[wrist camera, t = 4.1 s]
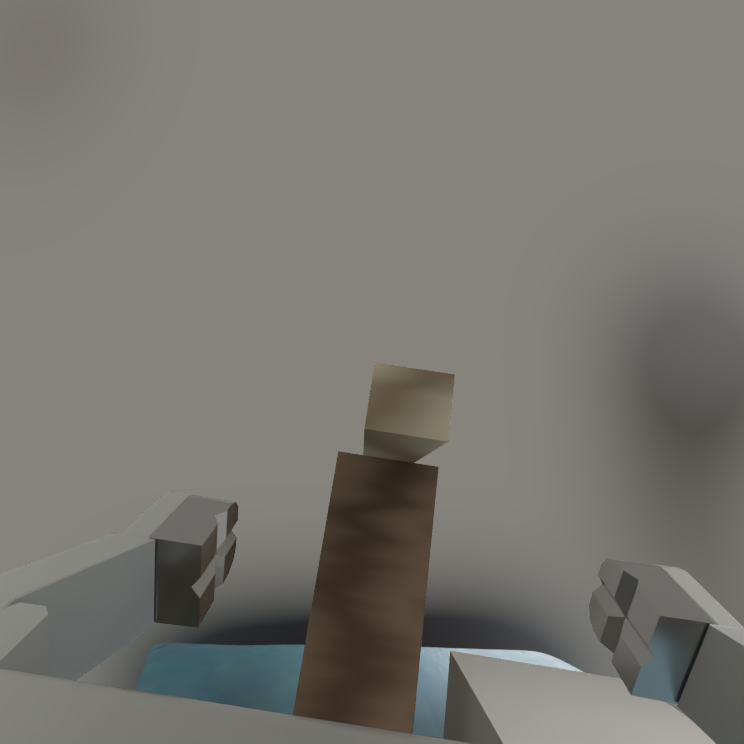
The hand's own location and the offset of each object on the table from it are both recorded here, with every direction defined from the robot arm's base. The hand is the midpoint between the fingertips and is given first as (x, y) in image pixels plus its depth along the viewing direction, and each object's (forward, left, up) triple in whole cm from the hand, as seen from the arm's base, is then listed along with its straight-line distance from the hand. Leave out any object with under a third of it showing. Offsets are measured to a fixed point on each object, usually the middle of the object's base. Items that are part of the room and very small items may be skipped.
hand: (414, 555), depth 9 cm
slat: (0, -17, +3) cm, 17 cm away
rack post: (0, -20, -23) cm, 30 cm away
